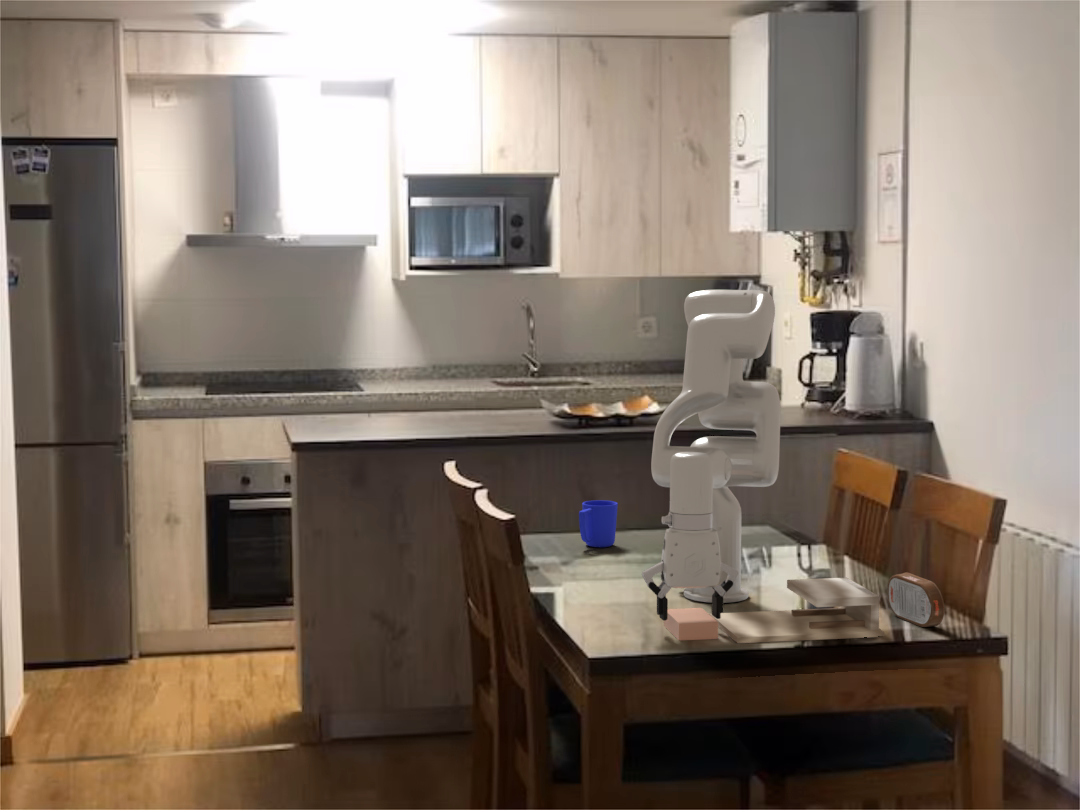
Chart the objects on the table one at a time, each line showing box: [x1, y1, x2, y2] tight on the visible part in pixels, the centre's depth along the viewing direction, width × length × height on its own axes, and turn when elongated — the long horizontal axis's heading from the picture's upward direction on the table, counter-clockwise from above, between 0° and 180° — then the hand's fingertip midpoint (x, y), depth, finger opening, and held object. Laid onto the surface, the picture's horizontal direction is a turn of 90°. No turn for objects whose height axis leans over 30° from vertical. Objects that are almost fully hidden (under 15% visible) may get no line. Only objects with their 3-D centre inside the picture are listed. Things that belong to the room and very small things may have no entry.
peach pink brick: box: [663, 607, 719, 642], centre depth 268 cm, size 11×7×3 cm, turn 9°
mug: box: [578, 499, 618, 548], centre depth 348 cm, size 8×12×10 cm
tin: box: [887, 572, 945, 628], centre depth 275 cm, size 15×3×8 cm, turn 20°
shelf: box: [708, 577, 885, 644], centre depth 271 cm, size 26×18×7 cm
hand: (689, 618), depth 267 cm, fingers open, 9 cm apart
